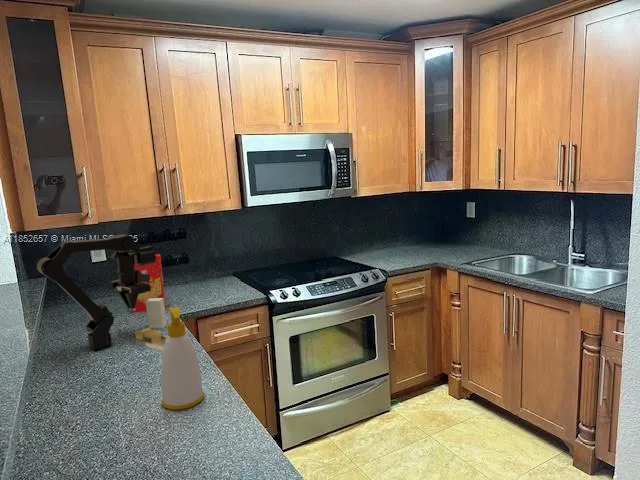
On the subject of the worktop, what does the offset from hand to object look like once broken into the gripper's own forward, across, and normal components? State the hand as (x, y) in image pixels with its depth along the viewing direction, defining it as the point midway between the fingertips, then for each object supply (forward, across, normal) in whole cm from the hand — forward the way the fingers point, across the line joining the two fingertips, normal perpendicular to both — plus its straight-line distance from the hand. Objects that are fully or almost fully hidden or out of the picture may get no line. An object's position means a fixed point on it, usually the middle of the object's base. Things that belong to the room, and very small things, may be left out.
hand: (131, 308), depth 166 cm
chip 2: (+11, -11, 0) cm, 16 cm away
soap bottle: (+12, -54, +23) cm, 60 cm away
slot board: (+12, -14, 0) cm, 19 cm away
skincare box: (+12, +2, -12) cm, 17 cm away
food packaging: (+12, +28, -27) cm, 41 cm away
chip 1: (+11, -6, 0) cm, 13 cm away
